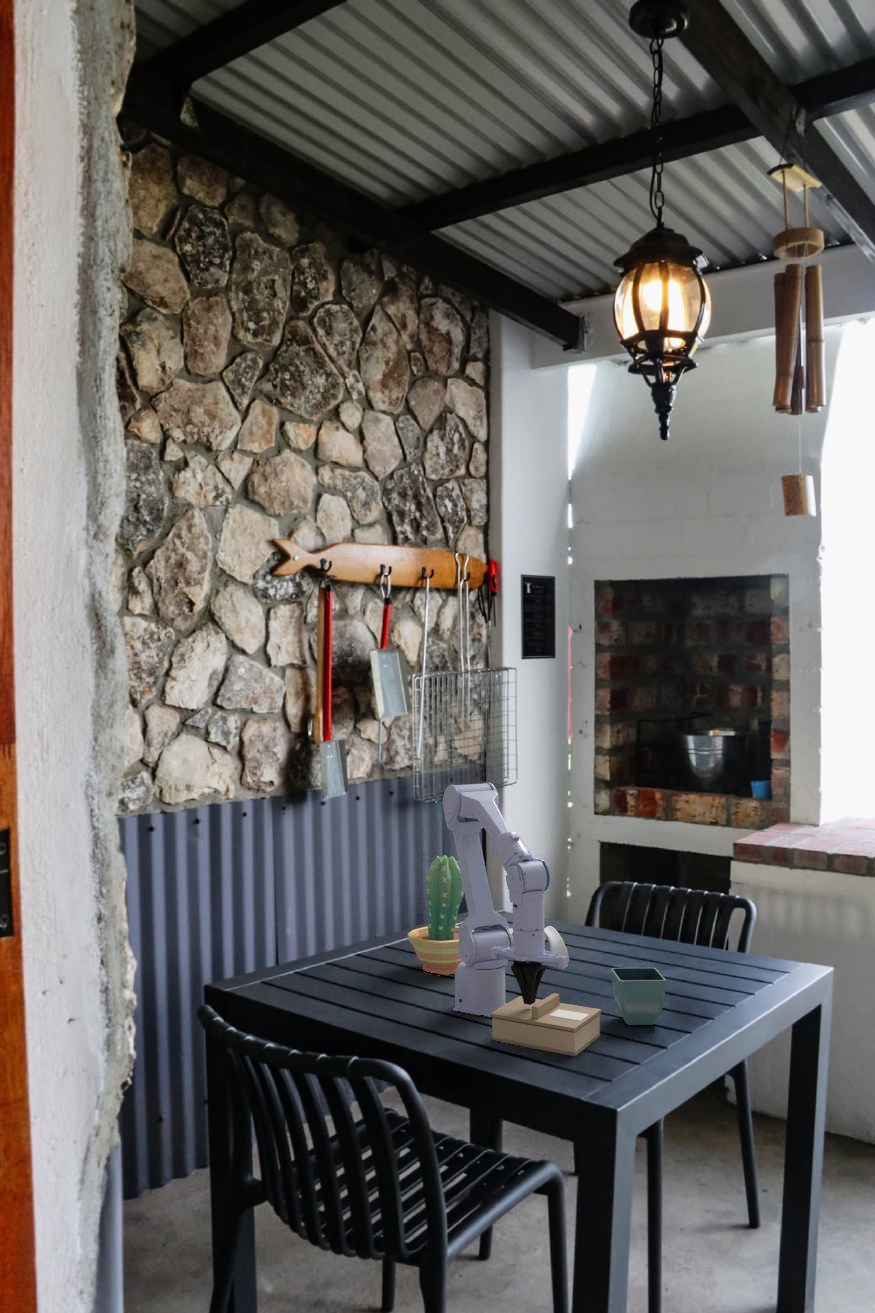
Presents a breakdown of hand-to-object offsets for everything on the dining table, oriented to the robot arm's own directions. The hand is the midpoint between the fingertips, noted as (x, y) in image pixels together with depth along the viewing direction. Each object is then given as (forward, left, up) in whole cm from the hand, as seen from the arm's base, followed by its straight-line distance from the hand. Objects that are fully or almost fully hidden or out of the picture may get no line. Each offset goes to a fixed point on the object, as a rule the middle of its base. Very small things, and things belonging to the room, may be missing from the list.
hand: (529, 1003), depth 195 cm
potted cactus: (-36, +29, -6) cm, 46 cm away
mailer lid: (+3, 0, -2) cm, 4 cm away
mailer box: (+3, 0, -6) cm, 7 cm away
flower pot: (+14, +17, -6) cm, 23 cm away
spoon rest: (-24, +53, -6) cm, 58 cm away
